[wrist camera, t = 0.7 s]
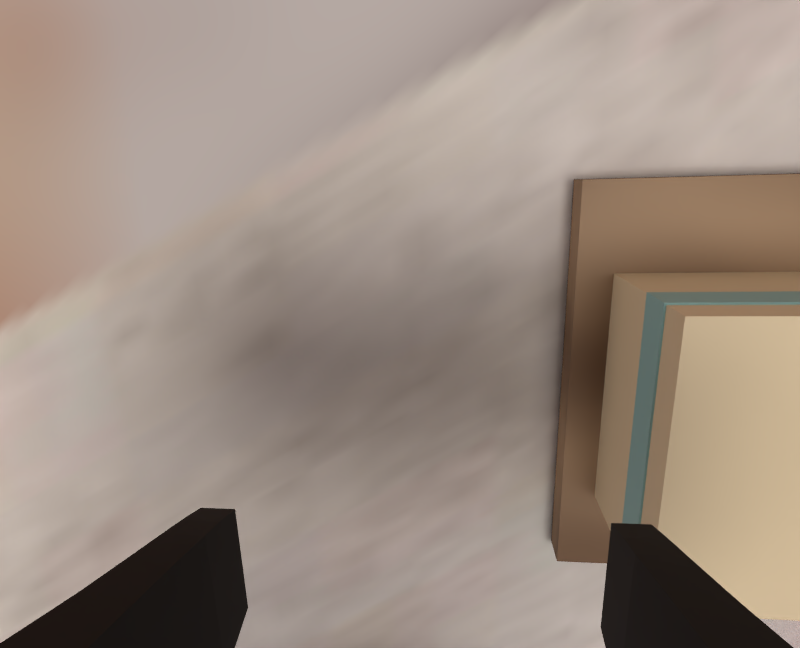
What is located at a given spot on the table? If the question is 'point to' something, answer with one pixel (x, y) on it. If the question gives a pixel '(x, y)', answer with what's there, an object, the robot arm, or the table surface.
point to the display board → (647, 253)
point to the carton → (709, 425)
